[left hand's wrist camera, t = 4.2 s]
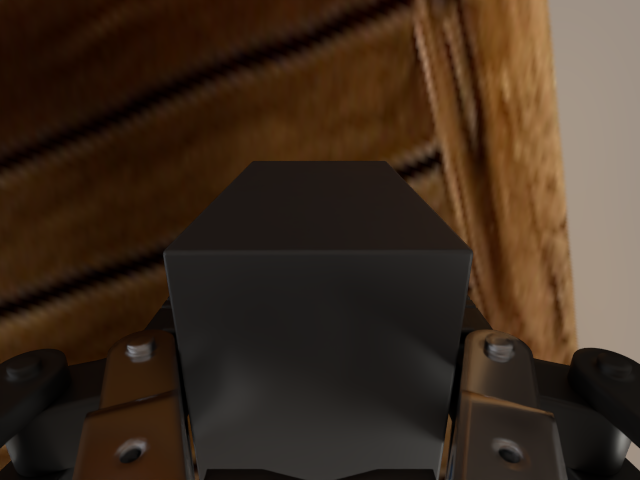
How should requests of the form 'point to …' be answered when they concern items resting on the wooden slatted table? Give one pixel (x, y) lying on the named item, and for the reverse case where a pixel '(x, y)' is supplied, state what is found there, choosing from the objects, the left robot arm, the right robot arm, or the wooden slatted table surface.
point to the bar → (318, 321)
